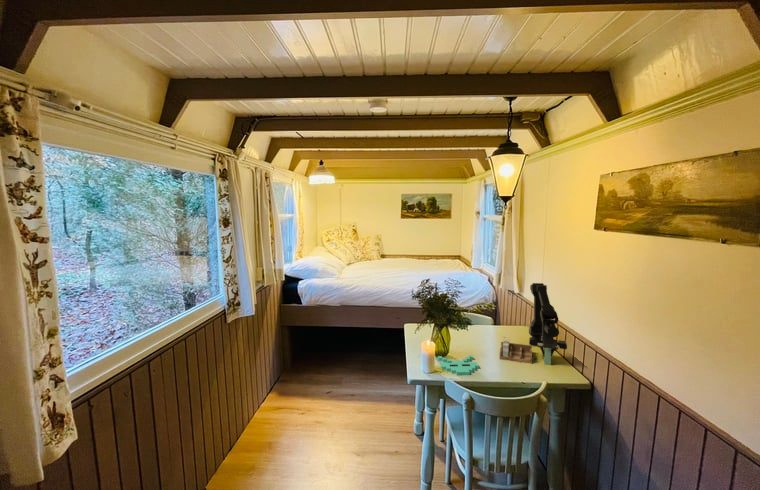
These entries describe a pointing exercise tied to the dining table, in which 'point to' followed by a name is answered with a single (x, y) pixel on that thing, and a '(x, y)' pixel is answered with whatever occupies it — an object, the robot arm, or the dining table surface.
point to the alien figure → (459, 365)
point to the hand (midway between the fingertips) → (547, 357)
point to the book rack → (515, 352)
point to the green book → (547, 356)
